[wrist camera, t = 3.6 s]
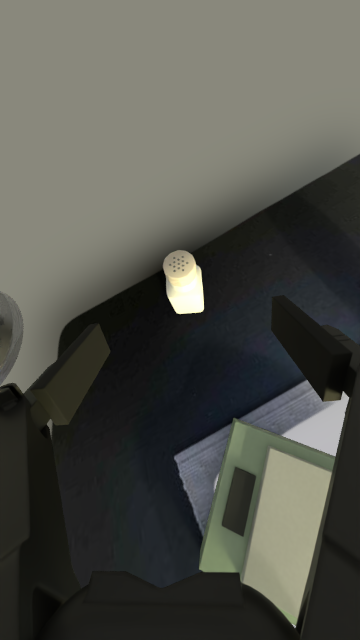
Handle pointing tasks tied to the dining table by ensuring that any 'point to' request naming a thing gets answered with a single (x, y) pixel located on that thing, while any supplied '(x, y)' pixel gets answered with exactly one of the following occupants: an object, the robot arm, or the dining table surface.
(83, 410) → the dining table surface
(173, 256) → the pepper shaker
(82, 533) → the dining table surface
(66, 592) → the robot arm
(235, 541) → the scale
